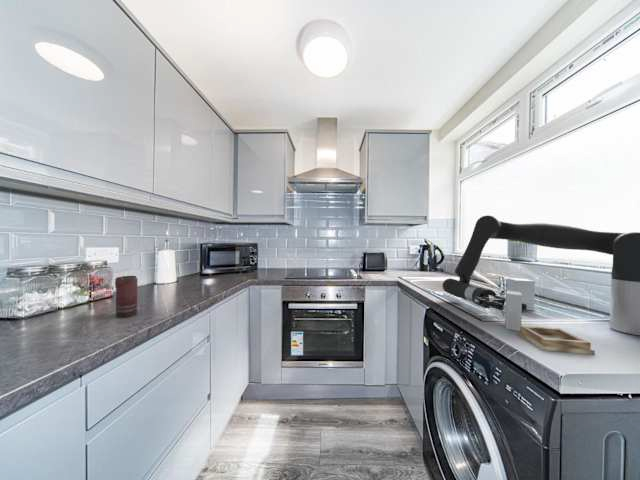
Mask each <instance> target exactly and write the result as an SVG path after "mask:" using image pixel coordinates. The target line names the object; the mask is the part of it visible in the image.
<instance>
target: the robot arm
mask: <svg viewBox="0 0 640 480" xmlns="http://www.w3.org/2000/svg"><path fill="white" fill-rule="evenodd" d="M490 239H492V240H493V239H495V240H506V241H507V240H508V241H515V242H518V243H519V242H520V243H524V244H530V245H534V246H540V247H546V248H553V249H561V250H562V249H563V250H564V249H565V250H579V251H591V252H596V253H601V254H607V255H612V268H611V275H610V276H611V278H610V279H611V281H610V305H609V306H610V309H609V313H610V314H609V328H610V329H612V330H614V331H617V332H621V333H624V334H629V335H634V336H640V232H638V231H637V232H635V231H634V232H633V231H632V232H610V231H609V232H608V231H595V230H589V229H587V228H586V229H585V228H581V227H577V226H571V225H570V226H569V225H565V224H564V225H563V224H556V223H547V222H538V223H537V222H533V223H531V222H530V223H512V222H506V221H500V220H499V219H497V218H496V217H495V216H492V215H482V216H481V217H479V218H478V219H477V220H476V222H475V226H474V228H473V231H472V234H471V237H470V240H469V242H468V244H467V246H466V249H465V251H464V253H463V254H462V257H461V258H460V260H459V262H458V264H457V265H456V267H455V269H454V274H455V275H456V276H458V277H459V280H457V279H454V278H447V279H445V280H443V282H442V289H443V291H444V292H445V293H446V294H450V295H452V296H454V297H456V298H460V299H463V300H465V301H467V302H470V303H471V304H473V305H476V306H479V307H482V308H484V309H496V310H497V311H498V310H499V311H503V310H504V308H506V296H502V295H498V294H497V293H496V292H495V291H494V290H493V289H491V288H490V289H489V288H486V287H483V286H479V285H474V284H470V282H471V278H472V275H473V274H474V272H475V270H476V268H477V266H478V264H479V263H480V260H481V256H482V253H483V250H484V248H485V246H486V244H487V243H488V242H489V240H490ZM522 311H528V310H527V305H526V304H525V303H522Z"/></svg>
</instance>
